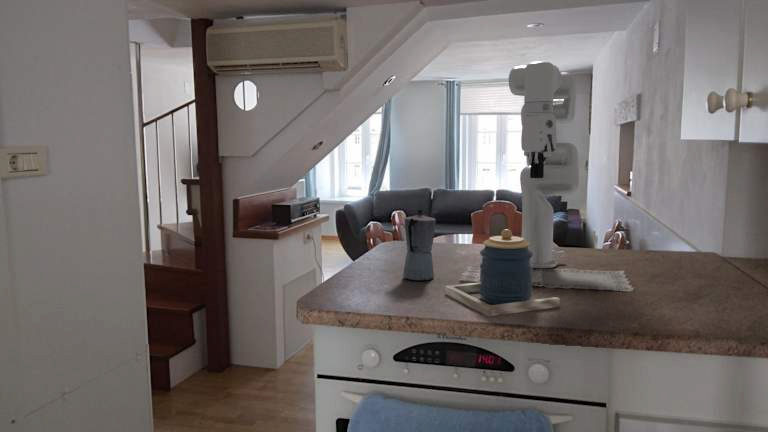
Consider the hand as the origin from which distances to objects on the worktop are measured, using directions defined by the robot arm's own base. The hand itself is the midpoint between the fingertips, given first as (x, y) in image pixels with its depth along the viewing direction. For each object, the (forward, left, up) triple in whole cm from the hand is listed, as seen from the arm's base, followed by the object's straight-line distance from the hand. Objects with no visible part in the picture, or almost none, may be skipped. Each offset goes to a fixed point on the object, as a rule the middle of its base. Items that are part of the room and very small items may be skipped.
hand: (536, 177), depth 153 cm
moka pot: (+28, -16, -29) cm, 44 cm away
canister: (+17, +12, -29) cm, 36 cm away
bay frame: (+18, +12, -29) cm, 36 cm away
